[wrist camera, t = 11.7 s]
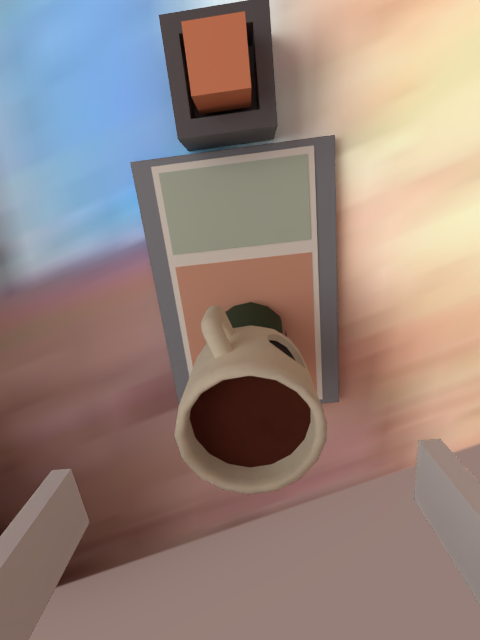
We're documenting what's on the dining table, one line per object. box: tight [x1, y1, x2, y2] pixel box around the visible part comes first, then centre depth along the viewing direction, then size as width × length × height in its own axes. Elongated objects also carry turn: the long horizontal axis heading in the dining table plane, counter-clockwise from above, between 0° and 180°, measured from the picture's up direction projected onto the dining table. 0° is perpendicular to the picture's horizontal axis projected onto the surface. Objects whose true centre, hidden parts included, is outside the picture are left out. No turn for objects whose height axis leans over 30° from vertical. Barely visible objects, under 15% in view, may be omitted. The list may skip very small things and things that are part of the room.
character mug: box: [175, 302, 327, 494], centre depth 20 cm, size 11×7×13 cm, turn 23°
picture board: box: [130, 135, 339, 404], centre depth 26 cm, size 15×22×1 cm
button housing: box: [159, 0, 277, 151], centre depth 20 cm, size 6×6×4 cm
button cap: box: [181, 11, 251, 114], centre depth 18 cm, size 3×3×3 cm
